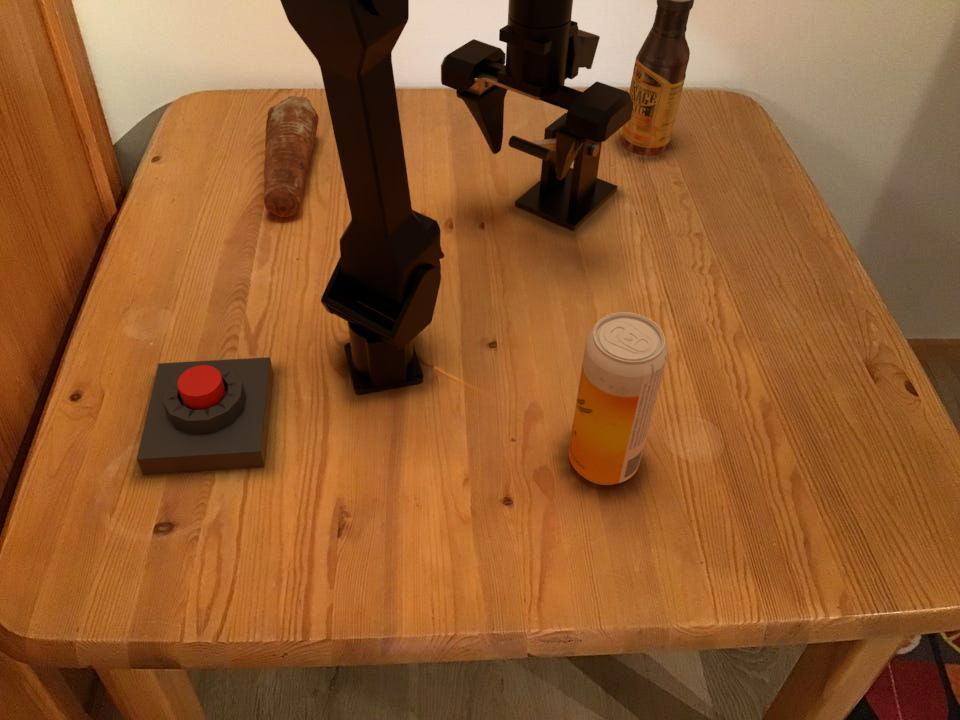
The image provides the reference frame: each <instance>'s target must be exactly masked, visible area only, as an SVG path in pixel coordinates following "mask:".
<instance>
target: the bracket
mask: <svg viewBox="0 0 960 720" xmlns="http://www.w3.org/2000/svg"><path fill="white" fill-rule="evenodd" d="M566 116H567V112H565V113H563V114H562V115H560V116H559V117H558V118H557V119H555V120H554V121H553V122H552V123H550V124H549V125H547V127H545V128H544V137H543V140H545V139H552V138H556V132H557V130H558V129H559V128H561V127H562V126H563V125H564V124H566ZM602 144H603V142H594V141H592V140H588V141H587V142H586V143H583V144H582V146H581V148H580V150H579V151H578V153H577V155H576V157H575V159H574V161H573V164H572V165H573V167H570V168H569V170H568V172H567V174H566V176H565V177H564V178H563V179H562V180H558V179H557V175H556V151H552V152H551V156H550V158H549V160H548V161H545V160H542V159H541V167H540V169H541V170H540V171H541V172H540V180H539V181H538V182H536V183H535V184H534V185H533V186H532V187H530V188H529V189H528V190H526V192H524V193H523V194H522V195H521V196H519V197H518V198H517V199H516V200H515V201H514V207H515V208H518V209H520V210H523V211H525V212H527V213H530V214H532V215H534V216H537V217H539V218H541V219H544V220H546V221H549V222H551V223H553V224H555V225H558V226H560V227H562V228H565V229H567V230H570V231H572V232H575V231H576V230H577V229H578V228H579V227H580V226H581V225H583V224H584V223H585V222H586V221H587V220H588V219H589V218H590V217H591V216H592V215H593V214H594V213H595V212H596V211H597V210H598V209H600V208H601V207H602V205H604V204H605V203H606V202H607V201H608V200H609V199H610V198H611V197H612V196H613V195H614V194H615V193H616V192H618V185H616V184H614V183H611V182H608V181H605V180H604V179H601V178H598V174H599V173H598V172H599V165H600V159H601V152H602Z"/></svg>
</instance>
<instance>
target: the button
mask: <svg viewBox="0 0 960 720" xmlns="http://www.w3.org/2000/svg"><path fill="white" fill-rule="evenodd" d="M177 386H178V389H179V392H180V395H181V398H182V401H183V403H184V404H185V405H186V406H187V407H189V408H192V409H197V410H201V409H207V408H210V407H213V406H215V405H216V404H218V403H219V402H220V401H221V400H222V398H223V397H224V394H225V387H224V384H223V380H222V377H221V374H220V372H219V371H218V370H217V369H216V368H214V367H212V366H208V365H199V366H195V367H192V368H190V369H188V370H186V371H185V372H184V373H182V374H181V376H180V377H179V379H178V383H177Z"/></svg>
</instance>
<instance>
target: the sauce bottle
mask: <svg viewBox="0 0 960 720" xmlns="http://www.w3.org/2000/svg"><path fill="white" fill-rule="evenodd" d="M694 3H695V0H656V11H655V16H654V21H653V24H652V27H651V28H650V30H649V32H648V33H647V36H646V38H645V40H644V42H643V43H642V45H641V47H640V49H639V51H638V53H637V55H636V56H635V61H634V66H633V71H632V75H631V76H632V77H631V81H630V86H629V91H628V93H629V94H630V96H631V98H632V101H633V109H632V115H631V119H630V120H629V121H628V122H627V123H626V124H625V125H623V126H622V127H621V143H622V146H623V147H624V148H625V149H627V150H628V151H630V152H632V153H635V154H637V155H643V156H653V155H654V156H655V155H659V154H661V153H663V152H664V151H666V150H667V149H668V147H669V145H670V141H671V138H672V134H673V130H674V126H675V122H676V117H677V113H678V110H679V105H680V100H681V98H682V94H683V93H682V92H683V89H684V84H685V80H686V77H687V76H686V75H687V69H688V65H689V62H690V55H691V51H690V50H691V49H690V47H689V44H688V41H687V38H686V32H687V29H688V28H687V26H688V21H689V18H690V17H689V16H690V12H691V10H692V9H693V7H694Z"/></svg>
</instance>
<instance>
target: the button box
mask: <svg viewBox="0 0 960 720" xmlns="http://www.w3.org/2000/svg"><path fill="white" fill-rule="evenodd" d="M272 364H273V363H272V359H271V357H269V356H268V357H251V358H233V359H232V358H231V359H230V358H229V359H215V360H194V361H178V362H177V361H176V362H159V363H158V364H157V368H156V371H155V377H154V382H153V386H152V390H151V393H150V398H149V403H148V407H147V412H146V416H145V421H144V425H143V429H142V433H141V438H140V444H139V447H138V452H137V455H136V461H137V464H138V466H139V468H140V470H141V473H142V475H143V476H147V475H163V474H177V473H193V472H206V471H209V472H210V471H225V470H240V469H241V470H242V469H255V468H256V469H257V468H265V467H266V458H267V448H268V437H269V436H268V435H269V425H270V416H271V406H272V396H273V395H272V393H273V385H274V384H273V383H274V369H273V365H272ZM199 365H208V366H212V367H214V368H216V369H217V370H218V371H219V372H220V374H221V377H222V380H223V384H224V387H225V394H224V397H223V398H222V400H221V401H220V402H219V403H218V404H216V405H215V406H213V407H210V408H207V409H201V410H197V409H192V408H189V407H187V406H186V405H185V404H184V403H183V401H182V398H181V395H180V392H179V389H178V386H177V383H178V379H179V377H180V376H181V374H182V373H184V372H185V371H186V370H188V369H190V368H192V367H195V366H199Z"/></svg>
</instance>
